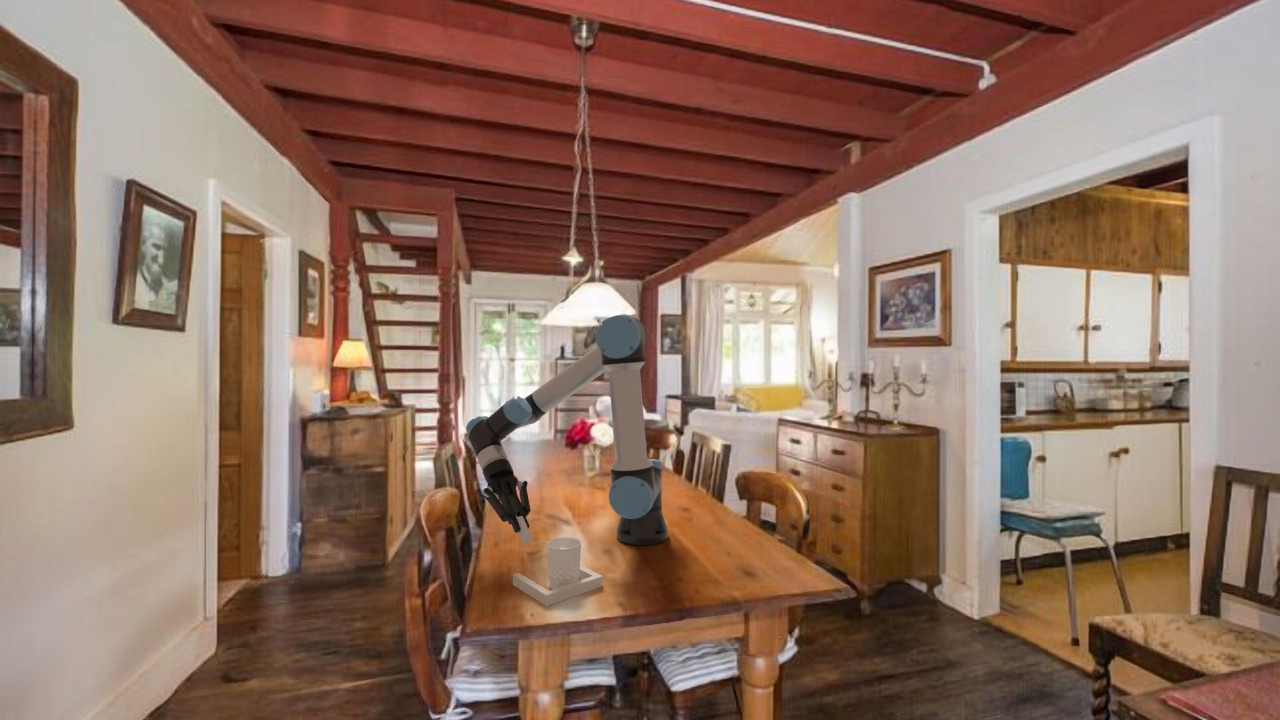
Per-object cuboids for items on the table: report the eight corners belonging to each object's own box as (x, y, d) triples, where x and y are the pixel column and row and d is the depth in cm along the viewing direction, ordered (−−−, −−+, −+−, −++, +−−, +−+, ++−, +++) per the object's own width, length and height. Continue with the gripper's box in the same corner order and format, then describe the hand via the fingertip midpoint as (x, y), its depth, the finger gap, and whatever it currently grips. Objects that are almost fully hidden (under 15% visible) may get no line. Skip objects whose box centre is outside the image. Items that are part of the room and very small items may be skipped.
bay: (512, 584, 127) (512, 574, 127) (567, 567, 137) (567, 558, 137) (546, 606, 116) (546, 595, 116) (602, 586, 126) (602, 576, 126)
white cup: (562, 596, 121) (562, 551, 121) (540, 586, 127) (539, 543, 126) (588, 585, 127) (588, 542, 127) (565, 576, 132) (565, 535, 132)
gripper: (512, 470, 156) (544, 543, 143) (468, 477, 147) (498, 555, 135) (521, 454, 152) (555, 527, 139) (477, 460, 143) (509, 539, 131)
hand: (527, 541), depth 137 cm, fingers closed
